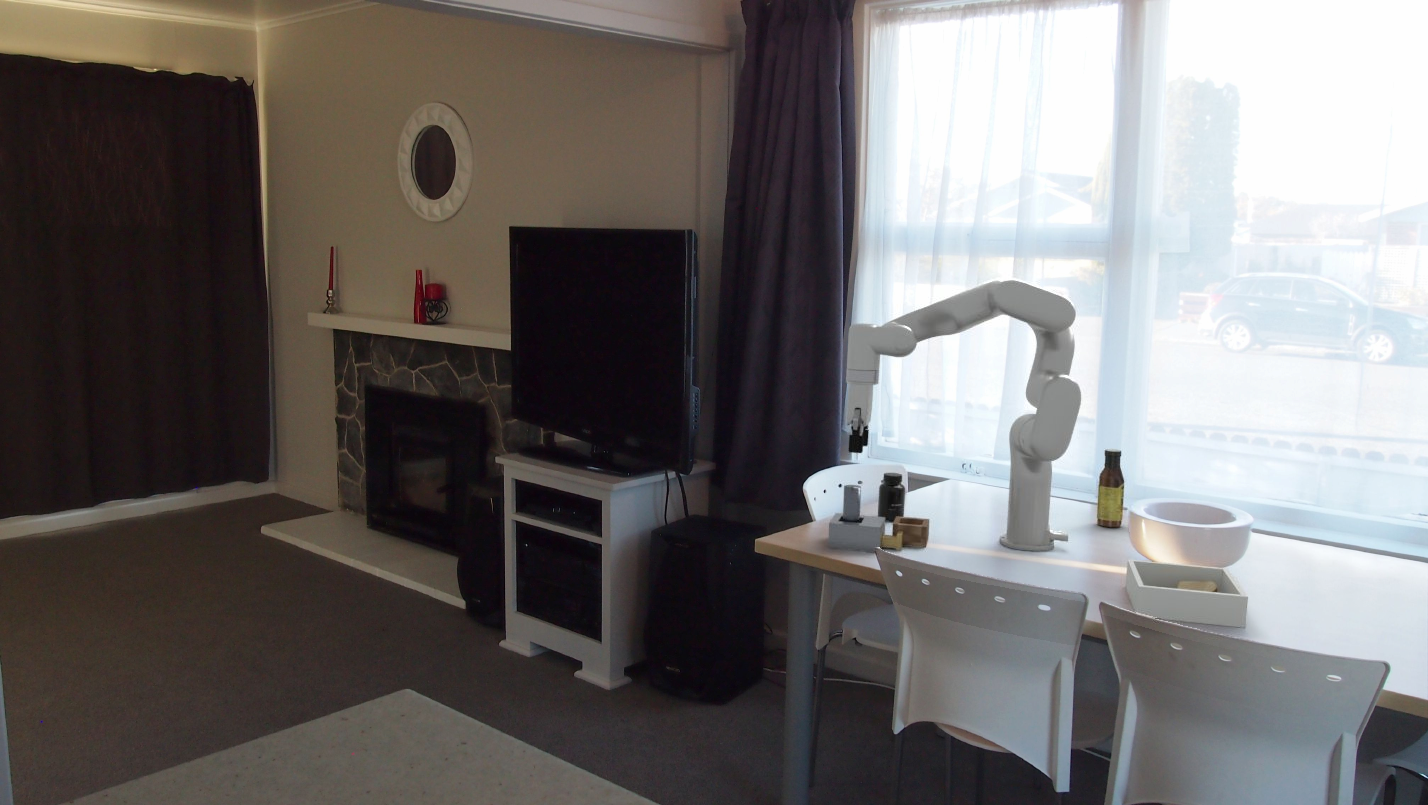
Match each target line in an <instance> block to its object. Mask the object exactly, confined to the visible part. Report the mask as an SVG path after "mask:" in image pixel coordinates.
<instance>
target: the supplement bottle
mask: <svg viewBox="0 0 1428 805" xmlns="http://www.w3.org/2000/svg"><path fill="white" fill-rule="evenodd" d="M882 481H883V483H881V484H880V485H879V487H878V499H877V501H878V504H877V517H885V522H894V520H895V518H896V516H899V517H905V502H906V501H905V500H906V486H904V484H902V483H903V474H902V473H897V472H885V473H883V478H882Z"/></svg>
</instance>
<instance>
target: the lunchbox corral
mask: <svg viewBox="0 0 1428 805" xmlns="http://www.w3.org/2000/svg"><path fill="white" fill-rule="evenodd" d="M1179 581H1200V582H1207V581H1212V582H1215V583H1216V585H1217V592H1207V591H1196V590H1186V589H1177V586H1178V583H1179ZM1156 586H1157V587H1156ZM1125 590H1126V593H1127V595H1128V598H1129V600H1130V603H1131V606H1132V608H1133V611H1134V612H1135V611H1136V612H1138V613H1141V614H1145V615H1149V616H1153V617H1157V618H1161V619H1160V620H1166V621H1173V622H1174V621H1175V622H1176V621H1177V622H1184V623H1196V624H1203V625H1205V624H1206V625H1212V626H1213V625H1216V626H1224V627H1233V628H1243V629H1245V628H1246V624H1247V622H1246V621H1247V613H1248V612H1247V611H1248V602H1249V601H1248V600H1249V595H1247V593H1246V592H1245V590H1244V589H1243V587H1241V585H1240V584H1239V583H1238V581H1237V580H1236V579H1235V577H1234V576H1233V574H1232V573H1231V571H1230V570H1229V568H1226V567H1217V566H1205V565H1204V566H1203V565H1193V564H1183V563H1173V562H1160V561H1150V560H1141V559H1140V560H1137V559H1127V564H1126V576H1125Z"/></svg>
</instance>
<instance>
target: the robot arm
mask: <svg viewBox="0 0 1428 805" xmlns="http://www.w3.org/2000/svg"><path fill="white" fill-rule="evenodd" d="M1076 312H1077V311H1076V308H1075V305H1074V303H1073V302H1072V301H1071V300H1070V299H1069V298H1068V297H1066V296H1064V295H1061V294H1059V293H1056V292H1053V291H1051V290H1047V289H1045V288H1043V287H1039V286H1036V285H1033V284H1032V283H1029V282H1026V281H1023V280H1021V279H1017V278H1015V277H995V278H992V279H988V280H987V281H985V282H982V283H980V284H977V285H976V286H973V287H971V288H969V289H966V290H964V291H962V292H959V293H956V294H954V295H952V296H950V297H948V298H945V299H942V300H940V301H937V302H935V303H934V302H933V303H932V304H930V305H927V306H924V307H921V308H918V309H916V310H914V311H910V312H908V313H905V314H904V315H902V316H899V317H896V318H894V319H892V320H890V321H887V322H886V323H884V324H882V325H881V326H879V325H878V324H874V323H852V324H851V325H850V327H849V328H848V338H847V339H848V341H847V342H848V343H847V357H846V358H847V359H846V376H845V383H846V384H849V388H848V395H847V405H846V414H845V415H846V416H845V425H846V426H850V431H849V436H848V437H849V438H848V453H853V454H863V451H864V447H868V445H869V434H870V433H869V432H870V429H869V424H870V422H871V421H872V420H871V419H872V411H873V400H874V399H873V398H874V386H875V385H879V380H880V379H879V378H880V362H881V356H888V357H893V358H904V357H908V356H909V355H910V354H912V353H913V352H914V351H915V350H916V348H917V345H918V343H920V342H922V341H925V340H929V339H931V338H932V339H933V338H936V337H942V336H944V337H945V336H951V335H955V334H959V333H963V332H965V331H967V330H970V329H971V328H973V327H976V326H978V325H980V324H983V323H985V322H987V321H990V320H993V319H995V318H997V317H999V316H1007V317H1010V318H1014V319H1016V320H1018V321H1020V322H1023V323H1025V324H1027V325H1028V326H1029V327H1030V328H1031V329H1032V331H1033V333H1034V335H1035V339H1036V340H1035V341H1036V347H1035V348H1036V349H1035V354H1034V359H1033V363H1032V365H1031V370H1030V373H1029V377H1028V380H1027V384H1026V388H1025V398H1026V400H1027V402H1028V403H1029V404H1030V405H1031V406H1032V407H1034V408H1035V409H1036V411H1035V413H1026V414H1023V415H1021V416H1019V417H1018V418H1016V419H1015V420H1014V421H1013V423H1012V425H1011V427H1010V429H1009V436H1008V438H1009V439H1008V441H1009V453H1010V454H1009V455H1010V472H1009V486H1008V501H1007V502H1008V505H1007V506H1008V507H1007V516H1006V517H1007V518H1006V519H1007V520H1006V521H1007V522H1006V533H1004V534H1002V535H1000V536H999V543H1000V544H1001V545H1003V546H1004V547H1007V548H1011V549H1015V550H1021V551H1029V552H1040V551H1041V552H1043V551H1049V550H1051V549H1054V548H1055V541H1060V542H1066V543H1067V542H1069V533H1066V532H1063V531H1055V530H1052V529H1051V528H1050V527H1051V526H1050V524H1049V523H1050V522H1049V521H1050V511H1051V510H1050V507H1051V495H1052V494H1051V491H1052V480H1053V479H1052V478H1053V477H1052V476H1053V465H1052V462H1054V461H1056V460H1059V459H1060V458H1061V457H1062V456H1064V455H1065V453H1066V451H1067V450H1068V448H1069V447H1070V443H1071V441H1072V437H1073V434H1074V430H1075V426H1076V423H1077V419H1078V417H1079V416H1078V415H1079V412H1080V408H1081V405H1082V392H1081V388H1080V385H1079V384H1078V382H1077V381H1076V379H1075V378H1073V377H1072V376H1070V373H1071V369H1072V364H1073V360H1074V355H1075V346H1076V344H1075V337H1074V332H1073V329H1072V325H1073V324H1074V322H1075V320H1076V317H1077V316H1076Z"/></svg>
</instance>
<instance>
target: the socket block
mask: <svg viewBox="0 0 1428 805" xmlns="http://www.w3.org/2000/svg"><path fill="white" fill-rule="evenodd" d="M882 535H886V521H885V517H878V516H875V515H865V514H864V515H862V514H860V523H852V522H843V513H838V512H835V514H834V516H833V517H832V518H831V519H830V521H829V522H828V540H827V541H828V546H827V547H828V548H829V549H838V550H847V551H849V550H850V551H857V552H858V551H860V552H870V553H876V552H875V547H880V548H881V549H882V547H881V541H882Z"/></svg>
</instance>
